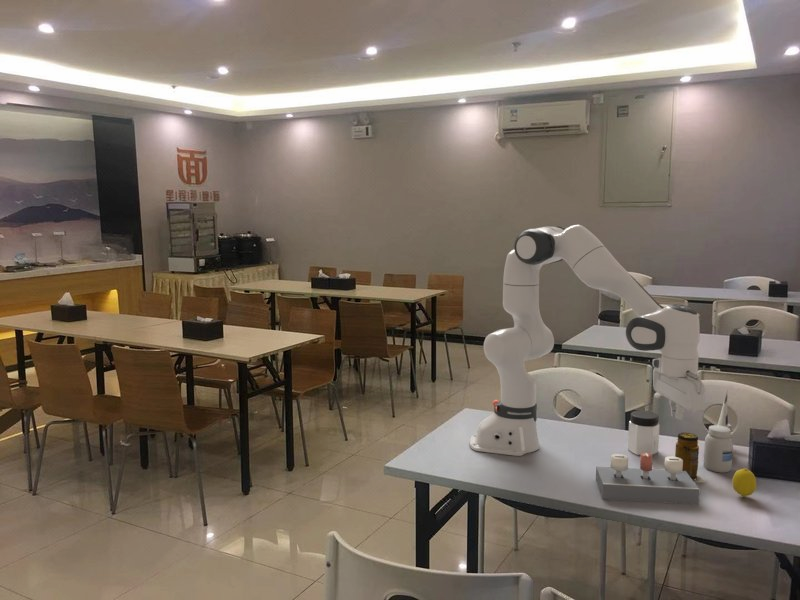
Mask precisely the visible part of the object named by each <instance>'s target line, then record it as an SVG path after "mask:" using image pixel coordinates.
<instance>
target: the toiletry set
mask: <svg viewBox="0 0 800 600" xmlns="http://www.w3.org/2000/svg"><path fill="white" fill-rule="evenodd" d="M728 389H729V388H727V390H726V393H725V396H724V400H723V404H722V408H721V411H720V415H719V418H718V422H717V424H716V425H715V424H714V425H709V426H708V433H707V435H705V438H704V448H703V467H704V468H706V469H707V470H708V471H711V472H715V473H728V472H730V471H731V469H732V465H733V463H732V462H733V460H734V459H735V453H736V452H735V449H734V443H733V438H732V437H731V434H732V433H733V432H734V430H733V427H732V425H731V423H729V419H728V418H729V416H728V415H729V412H728V393H729V392H728Z"/></svg>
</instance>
